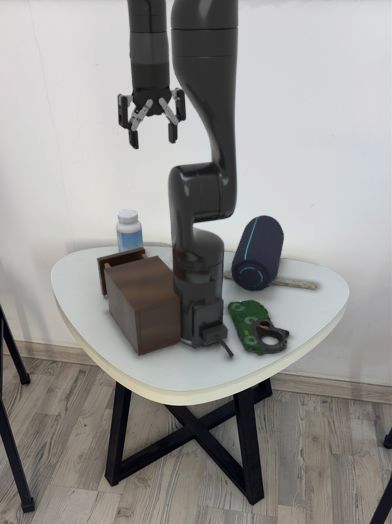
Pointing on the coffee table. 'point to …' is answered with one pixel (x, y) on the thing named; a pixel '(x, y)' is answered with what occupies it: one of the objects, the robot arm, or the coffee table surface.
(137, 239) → the pill bottle
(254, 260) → the portable speaker
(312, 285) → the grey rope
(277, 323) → the coffee table surface
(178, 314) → the cabinet
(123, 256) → the drawer
